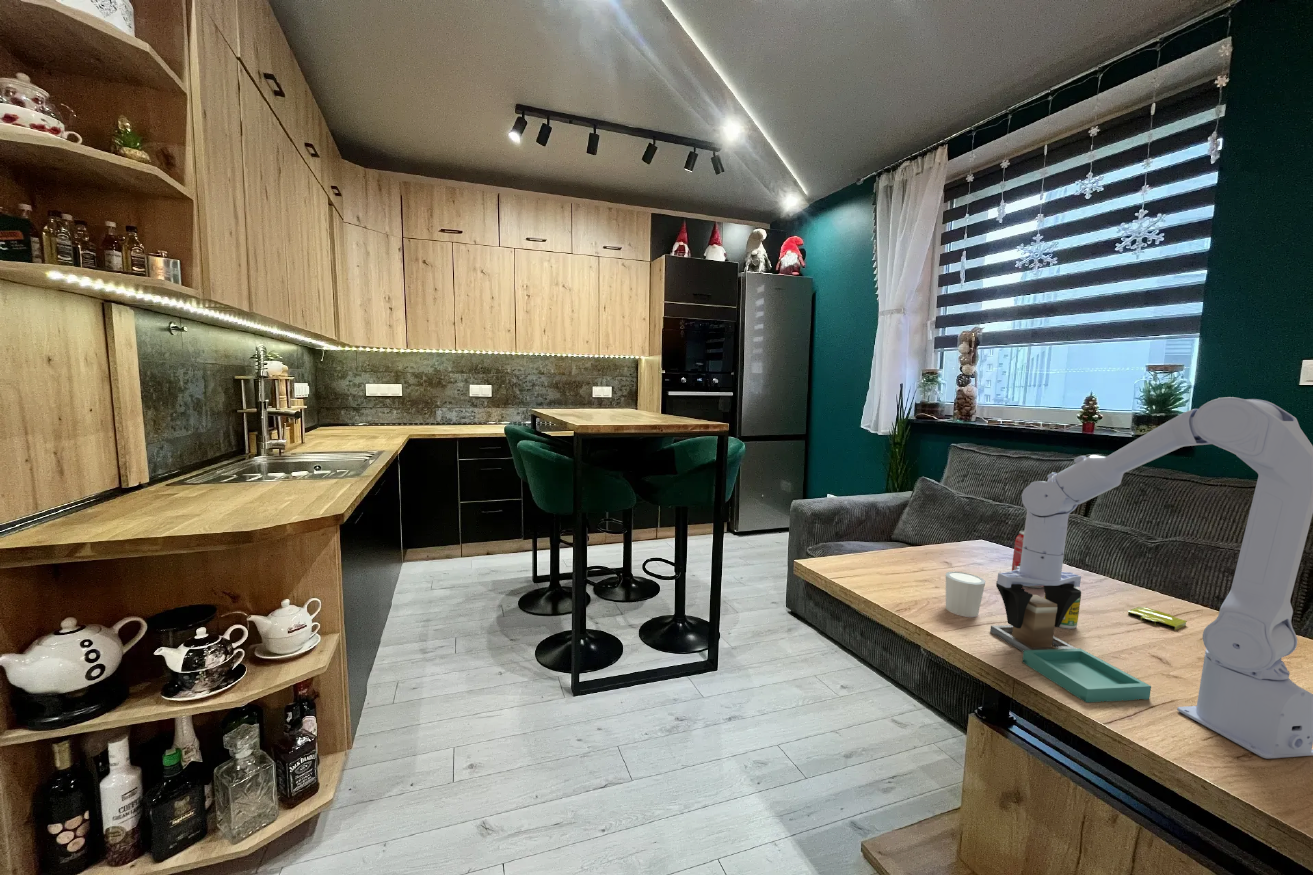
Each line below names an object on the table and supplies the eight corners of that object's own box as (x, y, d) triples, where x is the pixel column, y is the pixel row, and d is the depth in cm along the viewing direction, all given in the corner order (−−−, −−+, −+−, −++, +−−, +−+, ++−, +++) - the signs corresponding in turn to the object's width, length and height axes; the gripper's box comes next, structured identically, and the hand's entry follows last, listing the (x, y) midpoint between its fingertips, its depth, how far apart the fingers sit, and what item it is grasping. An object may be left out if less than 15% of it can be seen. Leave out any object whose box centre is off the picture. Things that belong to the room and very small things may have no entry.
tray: (1149, 699, 73) (1151, 686, 73) (1086, 702, 72) (1087, 689, 71) (1078, 659, 84) (1080, 648, 83) (1022, 661, 82) (1023, 650, 82)
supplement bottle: (1048, 614, 101) (1054, 568, 100) (1081, 625, 97) (1087, 577, 96) (1037, 620, 98) (1042, 572, 97) (1070, 632, 94) (1077, 582, 93)
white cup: (990, 616, 99) (993, 581, 99) (965, 620, 97) (969, 585, 96) (957, 601, 106) (961, 569, 105) (934, 605, 103) (937, 572, 102)
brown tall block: (1052, 648, 87) (1057, 604, 86) (1031, 649, 86) (1036, 604, 86) (1031, 637, 91) (1036, 594, 90) (1011, 637, 90) (1016, 594, 90)
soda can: (1045, 582, 119) (1051, 533, 118) (1049, 592, 113) (1056, 540, 112) (1009, 575, 123) (1015, 527, 122) (1011, 584, 117) (1017, 534, 116)
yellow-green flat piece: (1199, 631, 98) (1201, 617, 98) (1179, 640, 94) (1181, 625, 94) (1132, 610, 107) (1134, 597, 107) (1112, 617, 103) (1114, 604, 103)
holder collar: (1075, 655, 85) (1076, 648, 85) (1031, 656, 84) (1031, 649, 84) (1031, 630, 94) (1032, 624, 93) (990, 631, 92) (990, 625, 92)
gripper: (1058, 542, 92) (1048, 613, 93) (987, 542, 90) (978, 615, 91) (1096, 555, 85) (1086, 632, 86) (1020, 555, 83) (1011, 634, 84)
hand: (1033, 625), depth 88 cm, fingers open, 7 cm apart
